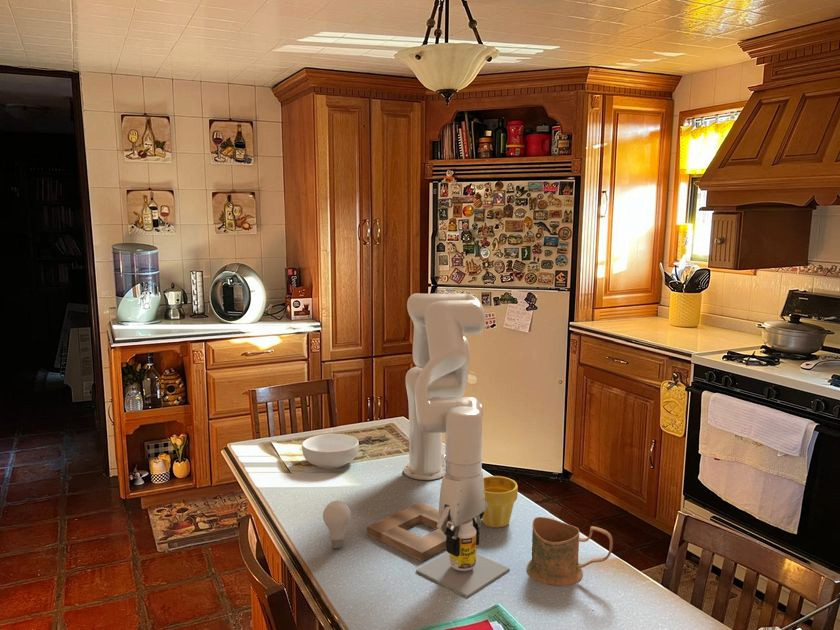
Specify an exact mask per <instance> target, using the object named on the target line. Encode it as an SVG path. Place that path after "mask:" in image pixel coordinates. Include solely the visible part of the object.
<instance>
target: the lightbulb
mask: <svg viewBox="0 0 840 630" xmlns="http://www.w3.org/2000/svg"><path fill="white" fill-rule="evenodd" d="M322 518H323V523H324V524H325V525H326V527H327V528H328V531H329V537H330V539H331V540H330V542H331V546H332V547H333V548H334V549H336V550H337V549H340V548H342V547H343V546H344V538H345V531H346V529H347V528H346V527H347V525H348V523H349V521H350V520H351V511H350V508H349V506H348V505H347V504H346V503H345V502H343V501H340V500H334V501H331V502H329V503H328V504H327V505H326V506H325V507H324V509H323V514H322Z"/></svg>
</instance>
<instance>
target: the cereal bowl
mask: <svg viewBox="0 0 840 630" xmlns="http://www.w3.org/2000/svg"><path fill="white" fill-rule="evenodd" d="M359 444H360V443H359V440H358V438H356V437H355V436H352V435H349V434H343V433H325V434H320V435H315V436H311V437H308V438H307V439H305V440H304V441H303V442H302V443H301V451H302V455H303V458H304V459H305V460H306V461H307V462H308V463H309V464H311V465H313V466H317V467H318V468H320V469H324V470H336V469H340V468H342V467H343V466H344V465H347V464H348V463H351V462H352V461H353V460H354V459H355V458H356V457H357V455H358V452H359V447H360V445H359Z"/></svg>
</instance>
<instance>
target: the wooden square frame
mask: <svg viewBox="0 0 840 630" xmlns="http://www.w3.org/2000/svg"><path fill="white" fill-rule="evenodd" d="M439 520H440V519H439V509H436V508H434V507H432V506H429V505H427V504H426V503H422V502H418V503H416V504H413V505H411V506H408V507H407V508H405V509H402V510H400V511H398V512H396V513H394V514H391V515H389V516H387V517H385V518H382V519H380V520H378V521H375V522H374V523H372V524H369V525H367V527H366V532H367V533H366V534H367V535H368V536H370V537H372V538H373V539H376V540H379V541H380V542H382V543H385V544H386V545H388V546H390V547H391V548H392V547H393V548H395V549H397V550H398V551H400V552H403V553H405V554H407V555H408V556H411V557H413V558H414V559H417V560H419V561H420V562H424V561H425V560H427V559H430V558H431V557H433V556H435V555H437V554H439V553H441V552H442V551H444V550H446V535H444V533H443V532H442V531H441V530H439V529H438V528H437V524H438V522H439ZM452 521H453V520H452ZM418 524H423V525H425V526H427V527H430V528H431V529H434V530H433V531H431V532H429V533H428V534H425V535H423V536H420V535H418V534H416V533H413V532H411V531H409V530H408V529H410V528H412V527H414V526H417V525H418ZM452 526H453V525H451V527H452Z"/></svg>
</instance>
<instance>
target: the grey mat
mask: <svg viewBox="0 0 840 630" xmlns="http://www.w3.org/2000/svg"><path fill="white" fill-rule="evenodd" d="M509 571H510V567H507V566H505V565H503V564H501V563H498V562H496V561H494V560H492V559H489V558H488V557H485V556H483V555H481V554H478V553H476V564H475V566H474V567H473V568H472V569H470V570H467V571H460V570H456V569H454V568H453V567H452V566H451V565H450V553H448V552H447V551H446V552H445V553H444V554H442V555H440V556H438V557H437V558H435V559H433V560H431V561H430V562H428V563H426V564H424V565H422V566H420V567H418V568H417V569H416V570H415V572H416V573H418V574H419V575H421V576H424V577H426V578H427V579H429V580H432V581H433V582H435V583H437V584H439V585H441V586H443V587H445V588H447V589H449V590H450V591H453V592H455V593H457V594H459V595H460V596H462V597H464V598H469V597H471V596H473V595H474V594H475V593H477V592H479V591H480V590H482V589H483V588H484V587H486V586H488V585H490V584H491V583H492V582H494V581H496V580H497V579H499V578H500V577H502V576H503V575H505V574H506V573H508V572H509Z"/></svg>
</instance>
